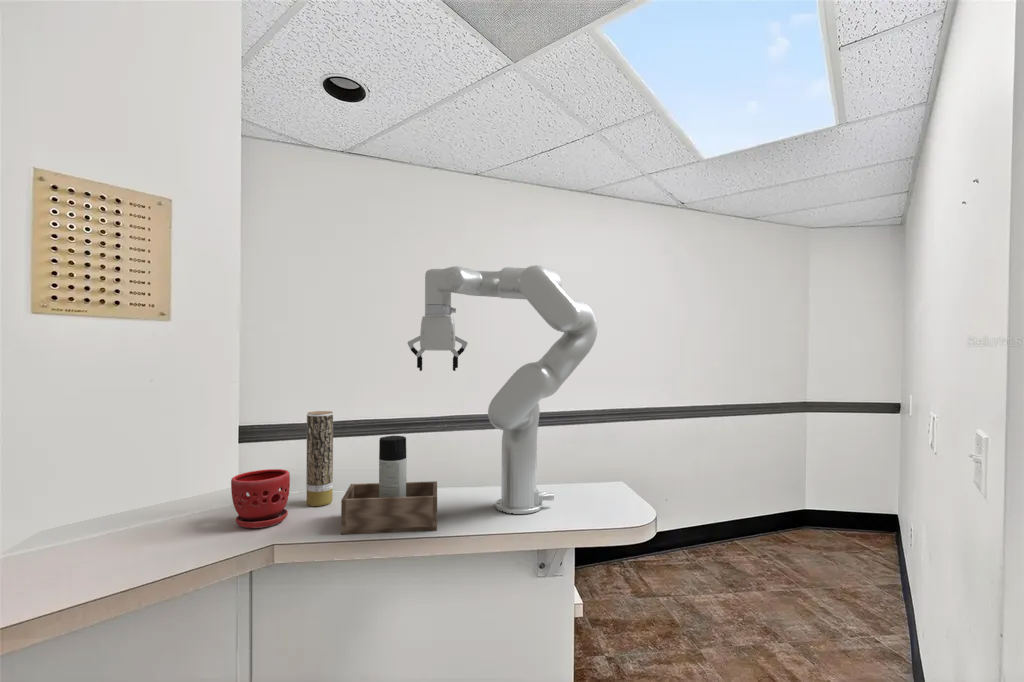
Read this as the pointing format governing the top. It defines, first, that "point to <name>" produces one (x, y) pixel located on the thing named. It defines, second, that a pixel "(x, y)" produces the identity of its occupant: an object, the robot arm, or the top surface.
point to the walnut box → (389, 509)
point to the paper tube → (319, 458)
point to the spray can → (392, 466)
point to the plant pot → (260, 497)
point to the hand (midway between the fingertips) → (437, 370)
